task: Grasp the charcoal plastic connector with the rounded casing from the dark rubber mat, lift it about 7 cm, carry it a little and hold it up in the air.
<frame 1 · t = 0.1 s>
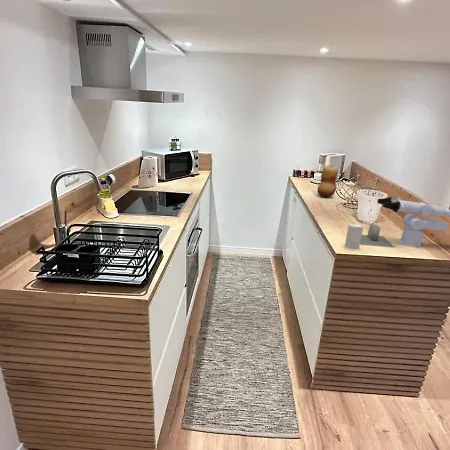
hand: (380, 202, 182), 22 cm above the countertop, tool horizontal, fingers open, 7 cm apart
mat: (372, 241, 189), on the countertop
skincare box: (351, 248, 178), on the countertop
connector: (372, 238, 192), resting on mat
butternut squash: (325, 197, 278), on the countertop
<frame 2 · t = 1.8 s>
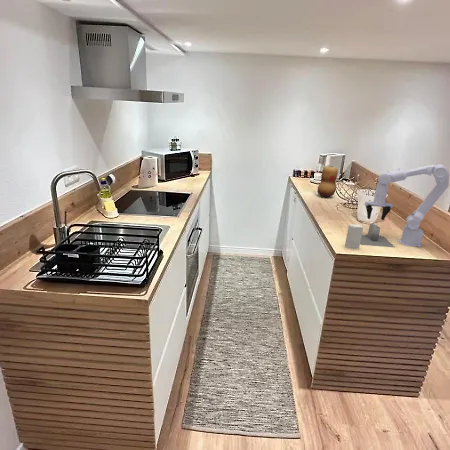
hand: (375, 219, 193), 10 cm above the countertop, tool pointing down, fingers open, 7 cm apart
nothing on the countertop moved.
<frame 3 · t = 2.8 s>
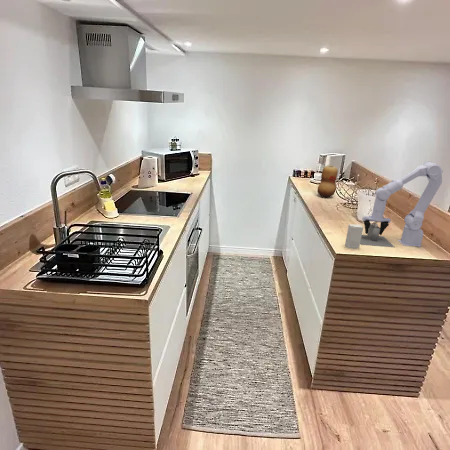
hand: (373, 233, 191), 3 cm above the countertop, tool pointing down, fingers open, 7 cm apart
nothing on the countertop moved.
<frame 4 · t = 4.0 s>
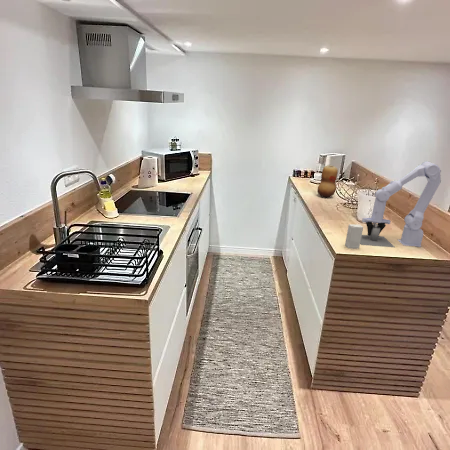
hand: (373, 235, 191), 2 cm above the countertop, tool pointing down, fingers closed on connector, 4 cm apart
connector: (372, 238, 192), resting on mat, touching gripper
everything else where it was.
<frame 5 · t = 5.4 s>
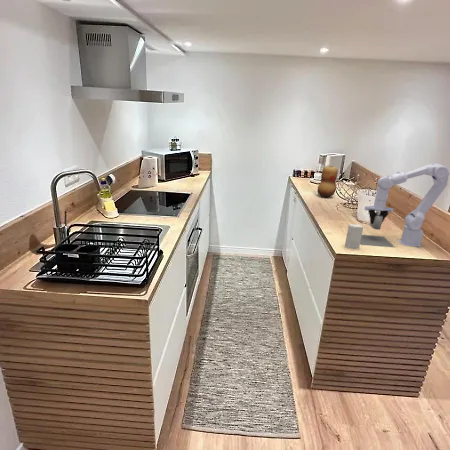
hand: (375, 223, 189), 9 cm above the countertop, tool pointing down, fingers closed on connector, 4 cm apart
connector: (374, 227, 190), point 7 cm above the countertop, touching gripper
everything else where it was.
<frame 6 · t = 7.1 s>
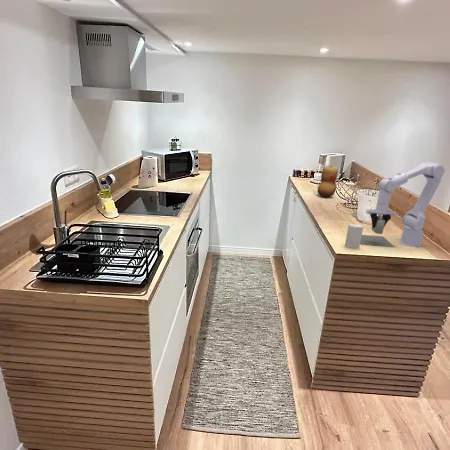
hand: (377, 227, 181), 9 cm above the countertop, tool pointing down, fingers closed on connector, 4 cm apart
connector: (376, 231, 182), point 7 cm above the countertop, touching gripper
everything else where it was.
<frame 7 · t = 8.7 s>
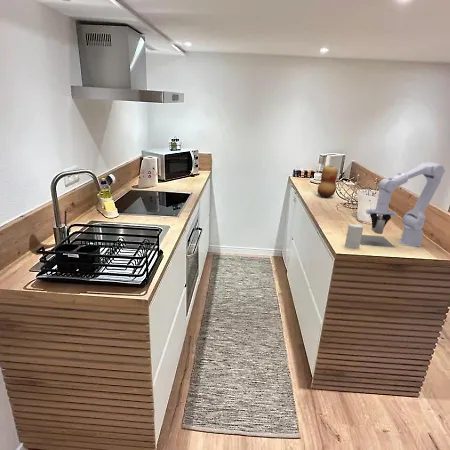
hand: (377, 227, 181), 9 cm above the countertop, tool pointing down, fingers closed on connector, 4 cm apart
connector: (376, 231, 182), point 7 cm above the countertop, touching gripper
everything else where it was.
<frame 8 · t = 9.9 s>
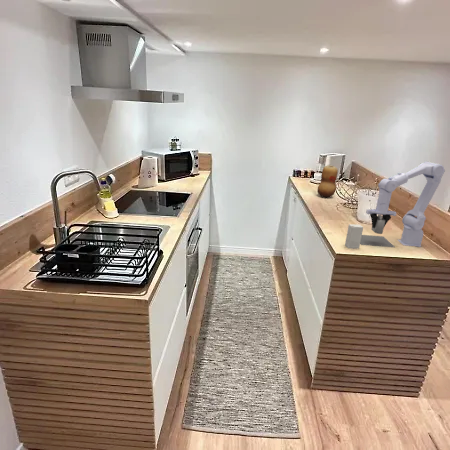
hand: (377, 227, 181), 9 cm above the countertop, tool pointing down, fingers closed on connector, 4 cm apart
connector: (376, 231, 182), point 7 cm above the countertop, touching gripper
everything else where it was.
at the end: the gripper is holding connector; connector point 7.5 cm above the countertop; connector inside the target area (0.1 cm from its centre), point 7.5 cm above the countertop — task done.
